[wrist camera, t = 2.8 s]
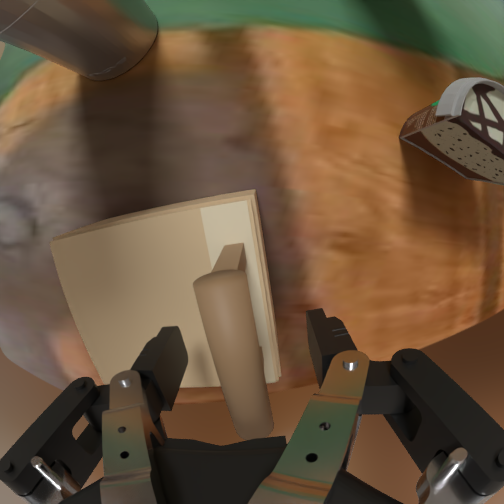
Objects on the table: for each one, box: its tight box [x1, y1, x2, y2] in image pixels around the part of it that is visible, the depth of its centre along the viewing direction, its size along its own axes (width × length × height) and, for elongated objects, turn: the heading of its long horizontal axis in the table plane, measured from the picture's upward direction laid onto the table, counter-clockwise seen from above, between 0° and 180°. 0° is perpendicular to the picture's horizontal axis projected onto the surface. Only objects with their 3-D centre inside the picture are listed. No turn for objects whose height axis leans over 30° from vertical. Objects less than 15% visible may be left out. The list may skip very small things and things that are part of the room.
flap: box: [49, 199, 279, 440], centre depth 13 cm, size 12×14×7 cm
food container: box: [399, 78, 504, 185], centre depth 15 cm, size 12×6×10 cm, turn 73°
